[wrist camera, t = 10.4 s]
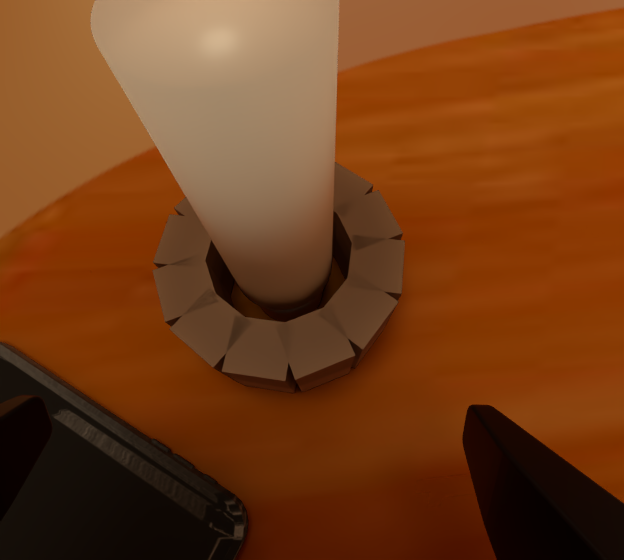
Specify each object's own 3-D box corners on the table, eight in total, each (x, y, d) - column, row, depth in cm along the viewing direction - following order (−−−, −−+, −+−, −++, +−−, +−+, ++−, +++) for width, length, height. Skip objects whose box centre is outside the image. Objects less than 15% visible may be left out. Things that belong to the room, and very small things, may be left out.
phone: (121, 775, 11) (-173, 500, 14) (139, 746, 12) (-140, 496, 15) (257, 512, 14) (-19, 327, 17) (262, 506, 15) (1, 333, 18)
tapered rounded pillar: (344, 312, 17) (381, 39, 5) (263, 343, 17) (113, 122, 5) (312, 242, 19) (289, -91, 7) (238, 269, 18) (75, -36, 6)
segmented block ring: (423, 342, 17) (450, 316, 13) (221, 425, 16) (189, 422, 12) (340, 183, 20) (343, 127, 17) (171, 242, 19) (134, 197, 16)
